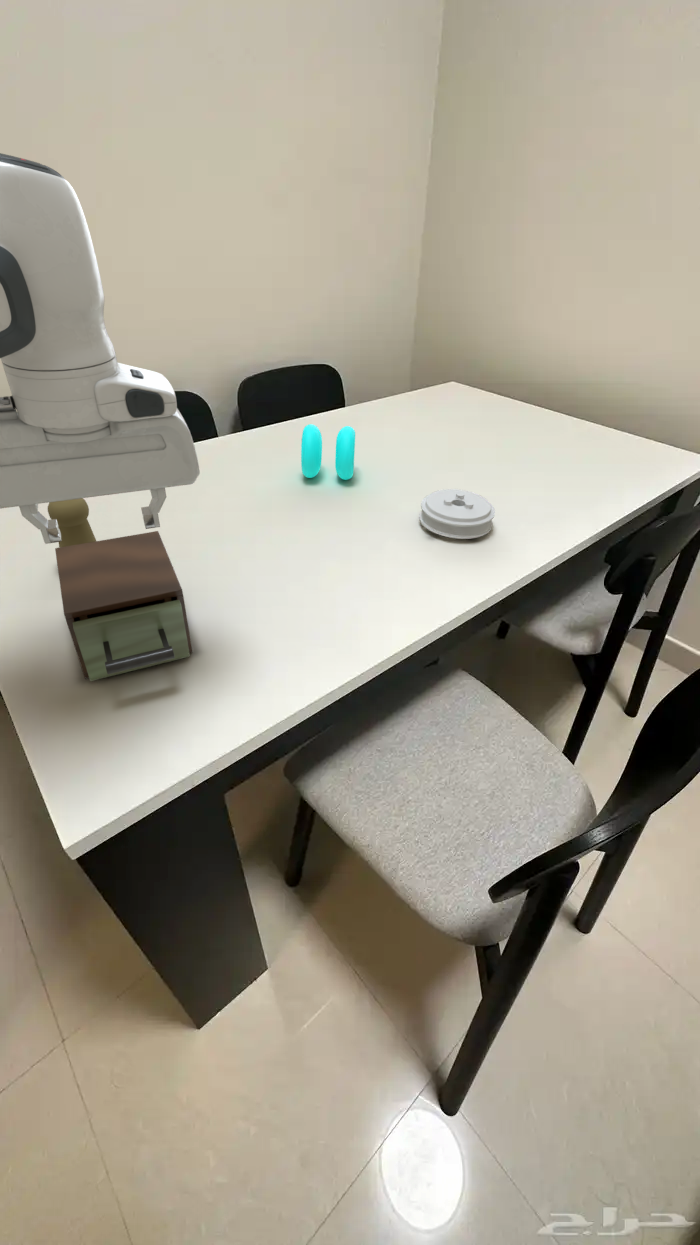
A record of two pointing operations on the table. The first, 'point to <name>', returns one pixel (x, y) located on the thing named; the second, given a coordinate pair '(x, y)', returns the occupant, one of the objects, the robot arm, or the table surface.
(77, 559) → the cabinet
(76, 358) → the robot arm
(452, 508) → the white grooved pulley wheel
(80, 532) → the cork
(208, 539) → the table surface
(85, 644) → the drawer
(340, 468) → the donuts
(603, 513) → the table surface
